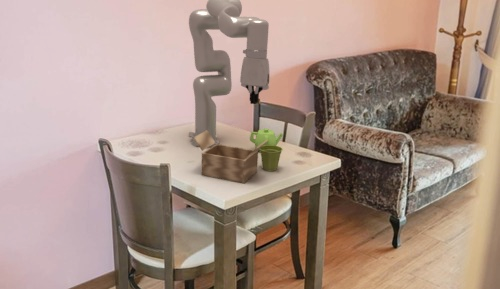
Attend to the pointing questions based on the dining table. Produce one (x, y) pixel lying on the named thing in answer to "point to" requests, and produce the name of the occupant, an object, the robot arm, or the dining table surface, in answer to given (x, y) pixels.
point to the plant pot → (270, 157)
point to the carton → (229, 163)
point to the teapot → (265, 137)
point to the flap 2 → (257, 148)
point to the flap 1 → (204, 140)
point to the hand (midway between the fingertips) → (253, 103)
